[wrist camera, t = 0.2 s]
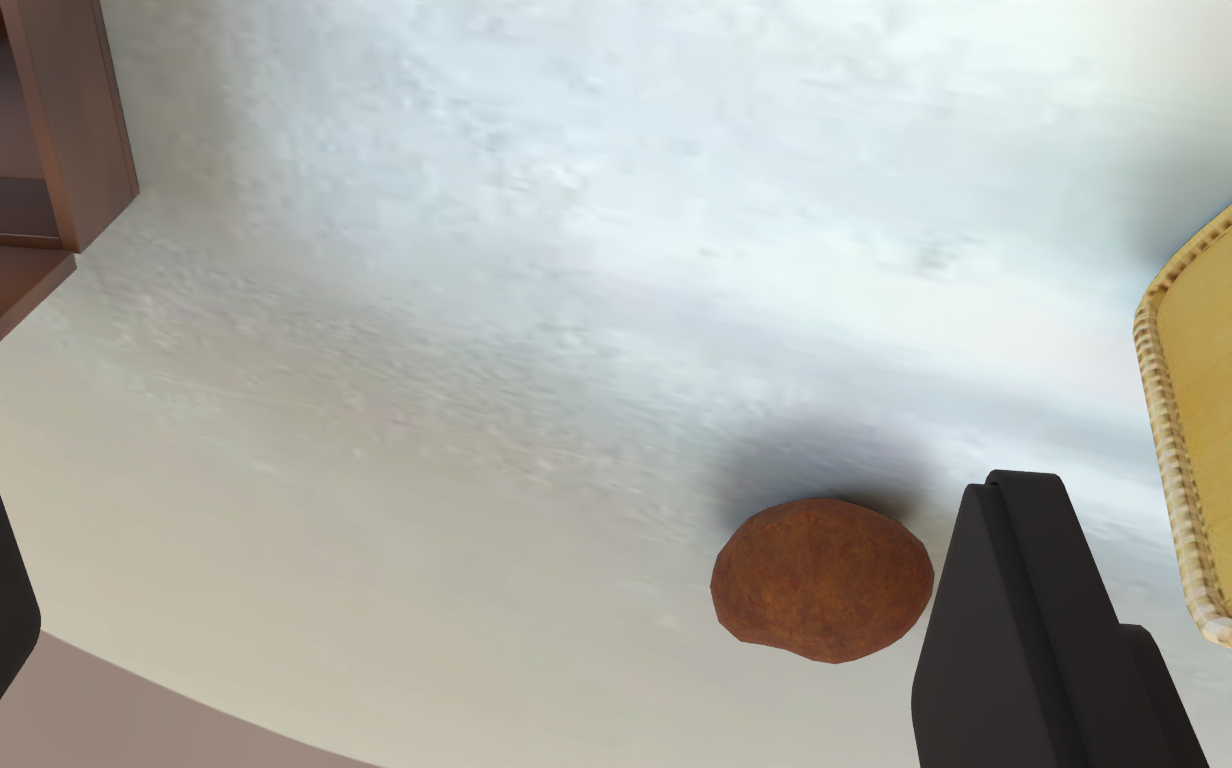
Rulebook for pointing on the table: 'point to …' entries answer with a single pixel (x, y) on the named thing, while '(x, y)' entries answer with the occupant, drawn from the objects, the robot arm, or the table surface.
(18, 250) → the lid
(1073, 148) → the table surface
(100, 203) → the brown wooden open box
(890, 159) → the table surface
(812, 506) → the potato
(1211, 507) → the picnic basket
